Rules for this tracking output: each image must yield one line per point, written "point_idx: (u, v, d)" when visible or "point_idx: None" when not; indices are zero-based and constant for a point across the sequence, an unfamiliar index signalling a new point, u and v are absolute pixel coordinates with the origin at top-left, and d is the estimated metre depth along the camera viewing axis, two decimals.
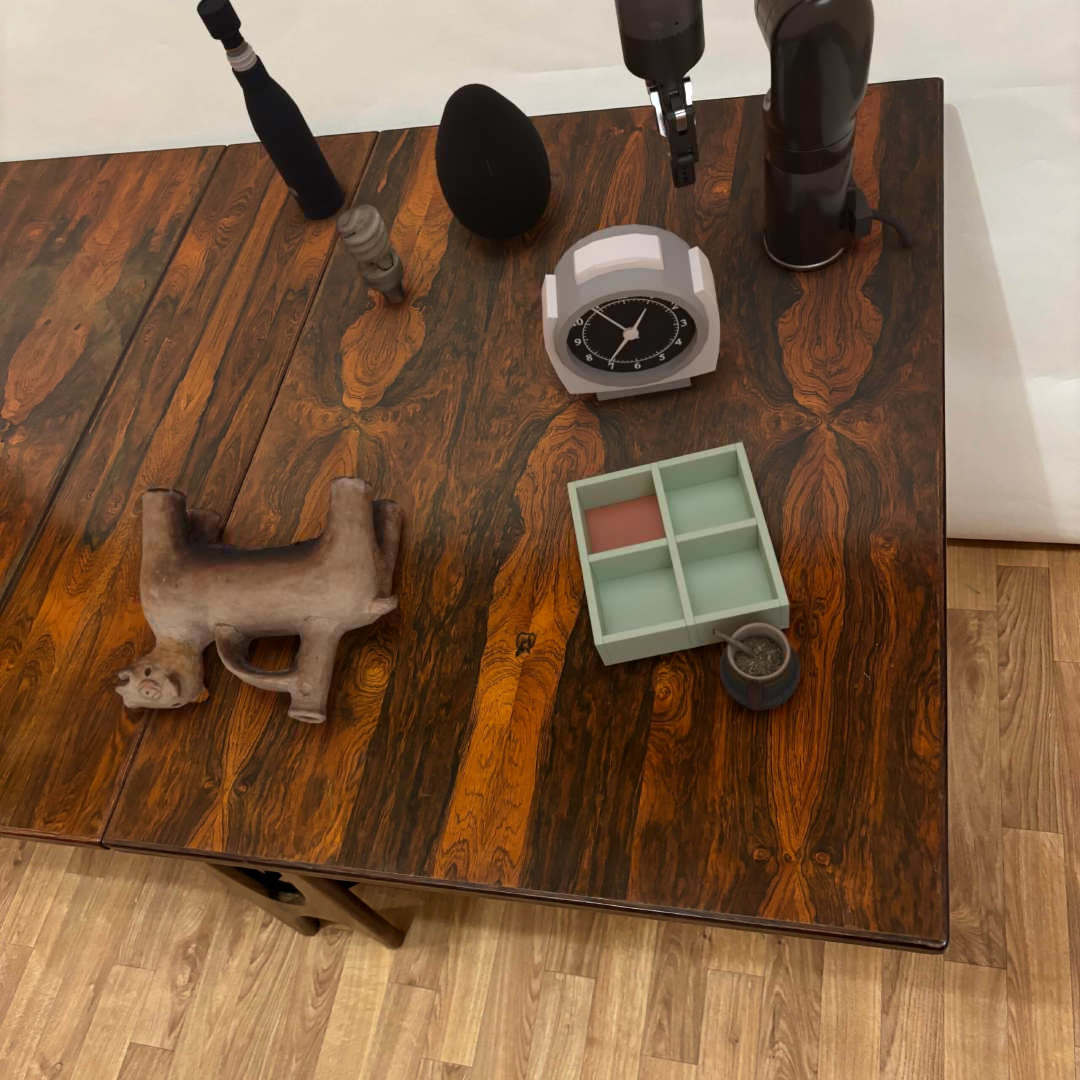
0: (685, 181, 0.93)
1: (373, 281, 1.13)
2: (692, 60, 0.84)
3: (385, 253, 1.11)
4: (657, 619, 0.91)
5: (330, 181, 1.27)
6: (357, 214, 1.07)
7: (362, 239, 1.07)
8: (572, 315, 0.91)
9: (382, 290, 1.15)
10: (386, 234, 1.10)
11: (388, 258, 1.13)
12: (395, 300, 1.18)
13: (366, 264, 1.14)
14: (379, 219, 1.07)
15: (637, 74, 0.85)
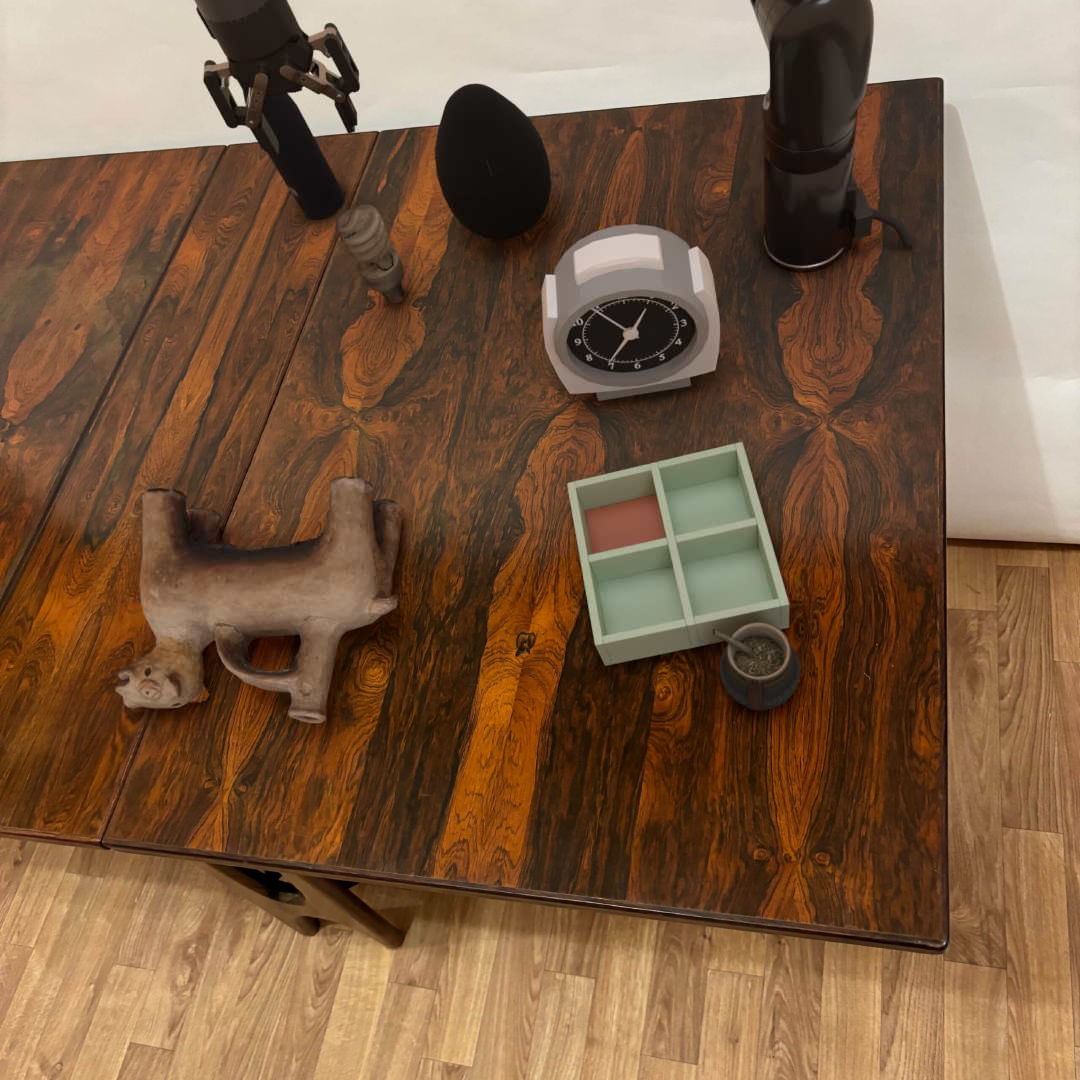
0: None
1: (373, 281, 1.13)
2: (224, 51, 0.86)
3: (385, 253, 1.11)
4: (657, 619, 0.91)
5: (330, 181, 1.27)
6: (357, 214, 1.07)
7: (362, 239, 1.07)
8: (572, 315, 0.91)
9: (382, 290, 1.15)
10: (386, 234, 1.10)
11: (388, 258, 1.13)
12: (395, 300, 1.18)
13: (366, 264, 1.14)
14: (379, 219, 1.07)
15: None
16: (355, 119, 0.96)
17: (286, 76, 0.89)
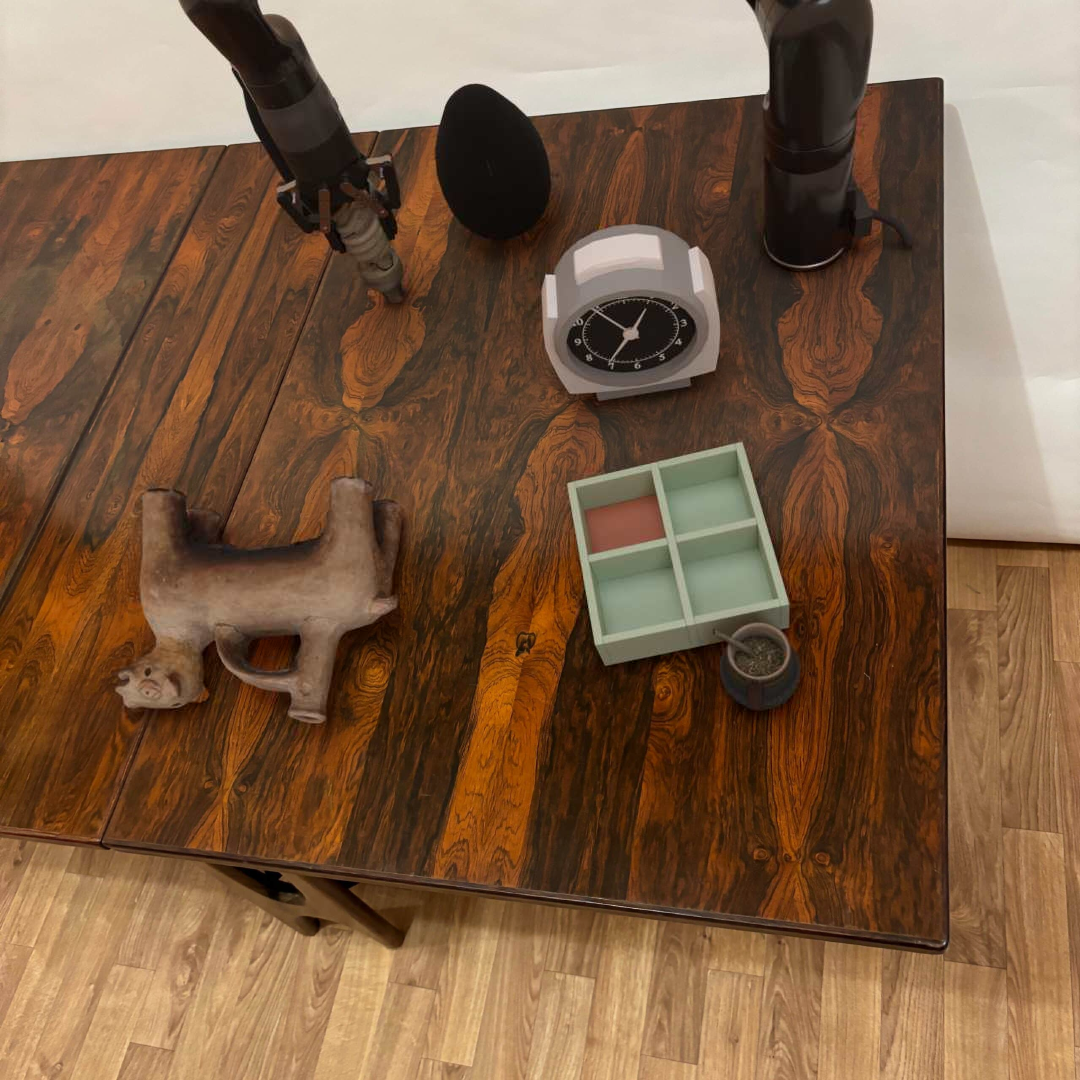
0: None
1: (373, 281, 1.13)
2: (293, 173, 0.99)
3: (385, 253, 1.11)
4: (657, 619, 0.91)
5: None
6: (356, 214, 1.07)
7: (362, 240, 1.07)
8: (572, 315, 0.91)
9: (382, 290, 1.15)
10: None
11: (388, 258, 1.13)
12: (395, 300, 1.18)
13: (366, 264, 1.14)
14: None
15: None
16: (395, 229, 1.09)
17: (344, 190, 1.02)
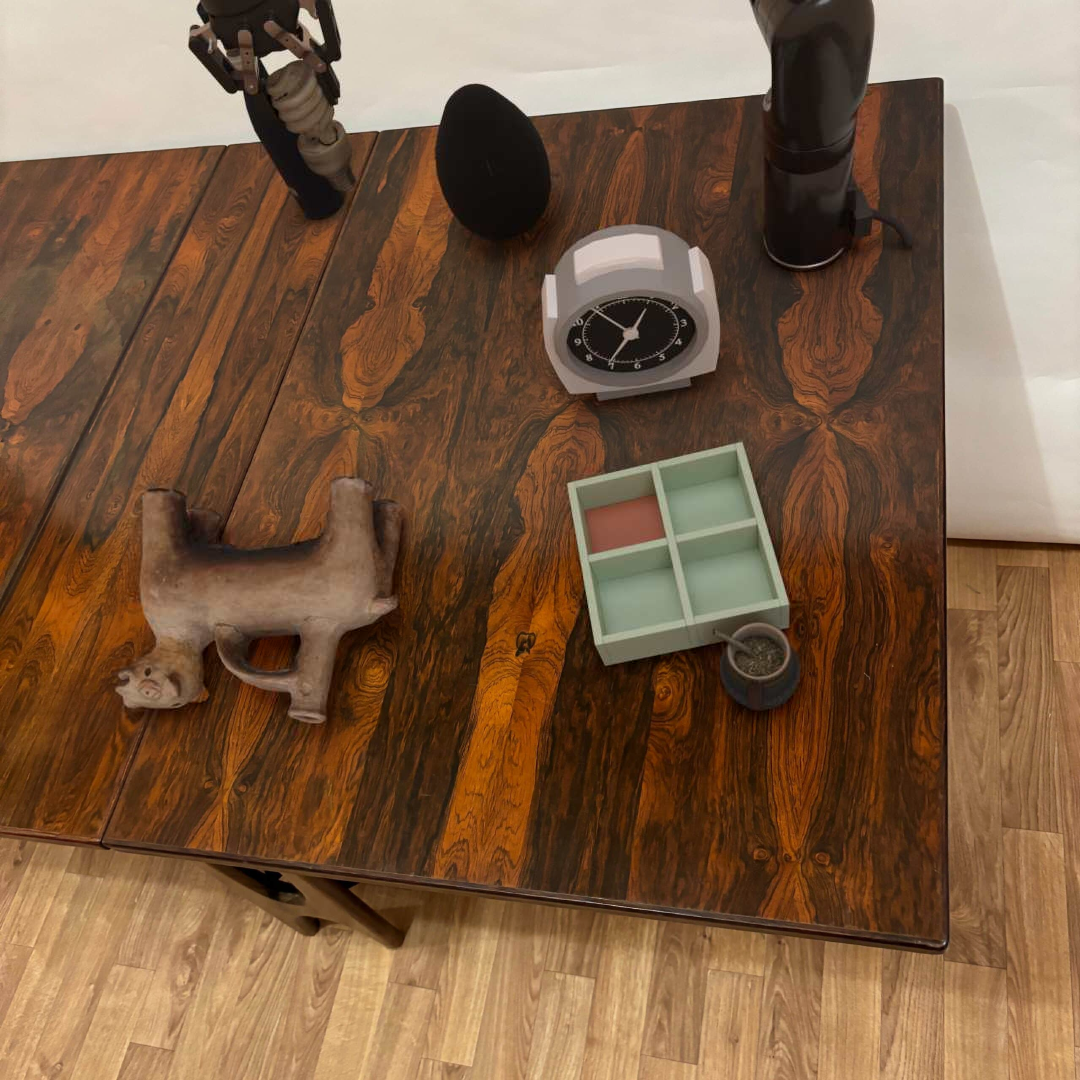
0: None
1: (314, 159, 0.95)
2: (204, 5, 0.81)
3: (326, 123, 0.93)
4: (657, 619, 0.91)
5: None
6: (289, 70, 0.89)
7: (296, 101, 0.89)
8: (572, 315, 0.91)
9: (326, 172, 0.97)
10: (326, 98, 0.91)
11: (331, 131, 0.94)
12: (344, 187, 1.00)
13: (306, 140, 0.96)
14: None
15: None
16: (338, 91, 0.91)
17: (269, 32, 0.83)
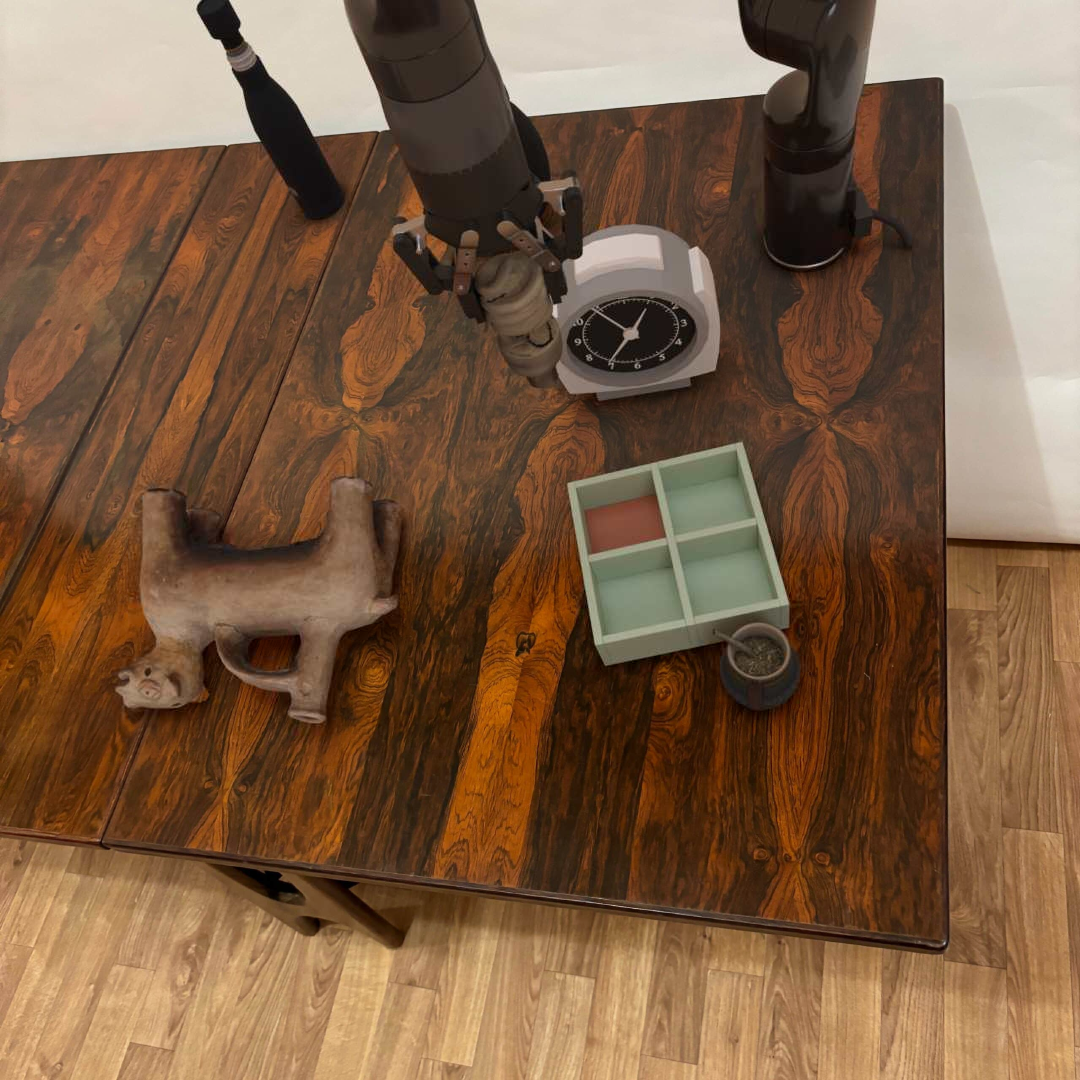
0: None
1: (521, 362, 0.76)
2: (427, 206, 0.61)
3: (544, 323, 0.73)
4: (657, 619, 0.91)
5: (330, 181, 1.27)
6: (510, 266, 0.69)
7: (517, 306, 0.69)
8: (572, 315, 0.91)
9: (532, 374, 0.77)
10: (548, 295, 0.72)
11: (545, 329, 0.75)
12: (545, 386, 0.80)
13: (510, 336, 0.76)
14: (543, 274, 0.69)
15: None
16: (565, 288, 0.71)
17: (502, 233, 0.64)
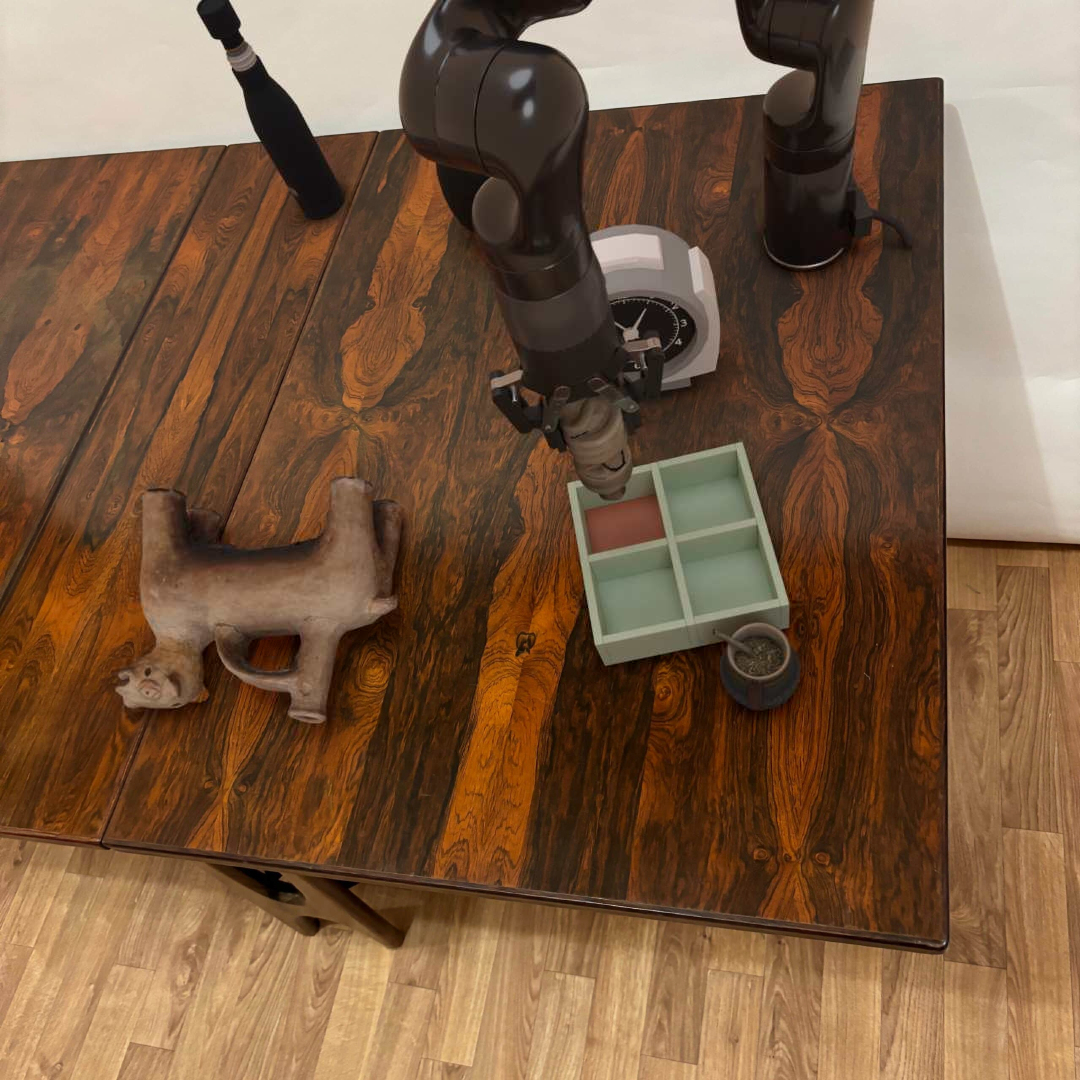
0: None
1: (597, 483, 0.83)
2: (528, 370, 0.68)
3: (619, 451, 0.80)
4: (657, 619, 0.91)
5: (330, 181, 1.27)
6: (592, 407, 0.76)
7: (599, 443, 0.76)
8: None
9: (605, 493, 0.84)
10: (624, 428, 0.79)
11: (618, 454, 0.82)
12: (614, 498, 0.88)
13: None
14: (622, 413, 0.77)
15: None
16: (640, 423, 0.78)
17: (592, 387, 0.71)
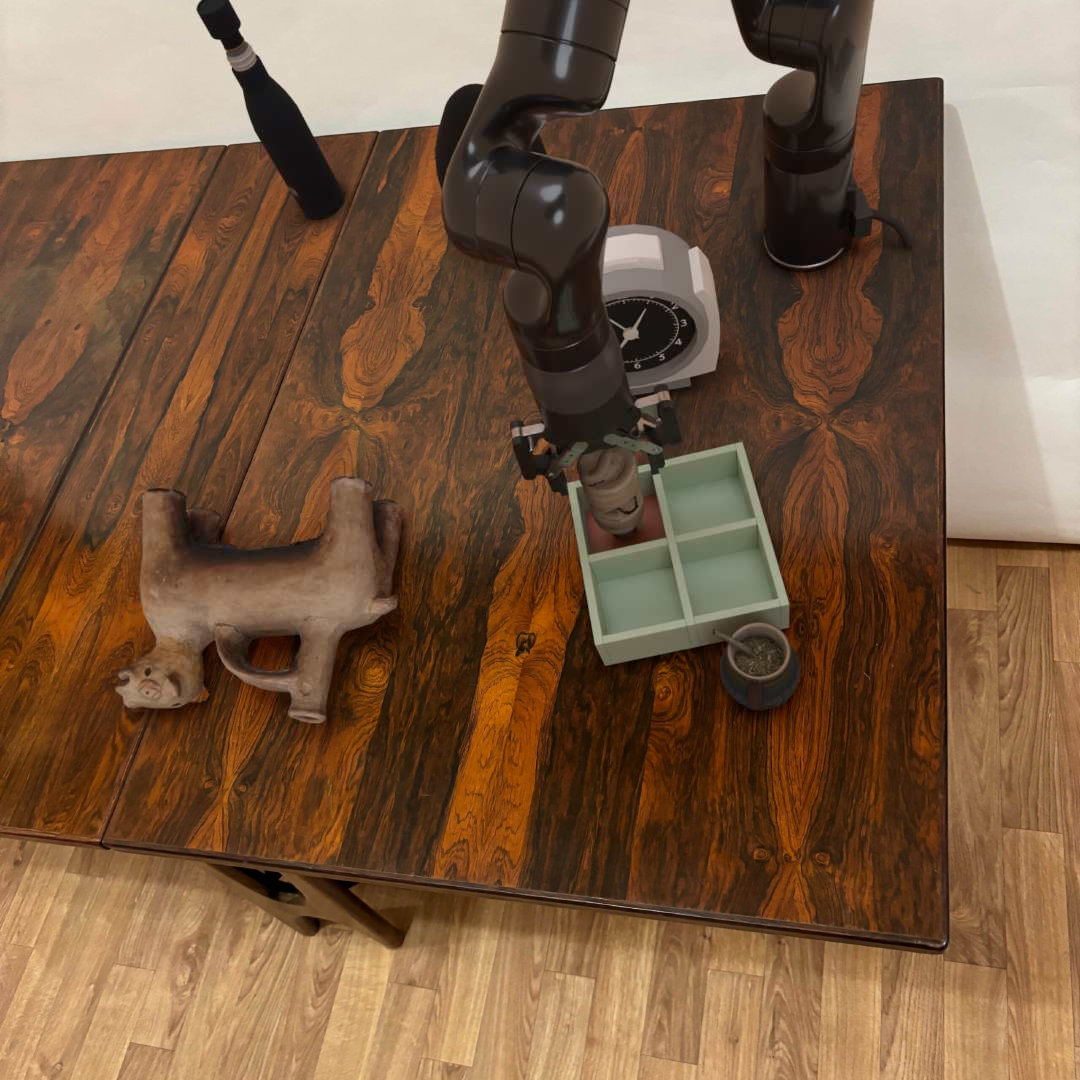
0: None
1: (611, 525, 0.90)
2: (550, 428, 0.75)
3: (632, 496, 0.87)
4: (657, 619, 0.91)
5: (330, 181, 1.27)
6: (609, 459, 0.83)
7: (615, 491, 0.83)
8: None
9: (618, 533, 0.91)
10: (637, 476, 0.86)
11: (631, 498, 0.89)
12: (626, 537, 0.94)
13: None
14: (636, 464, 0.84)
15: None
16: (663, 463, 0.84)
17: (609, 442, 0.78)
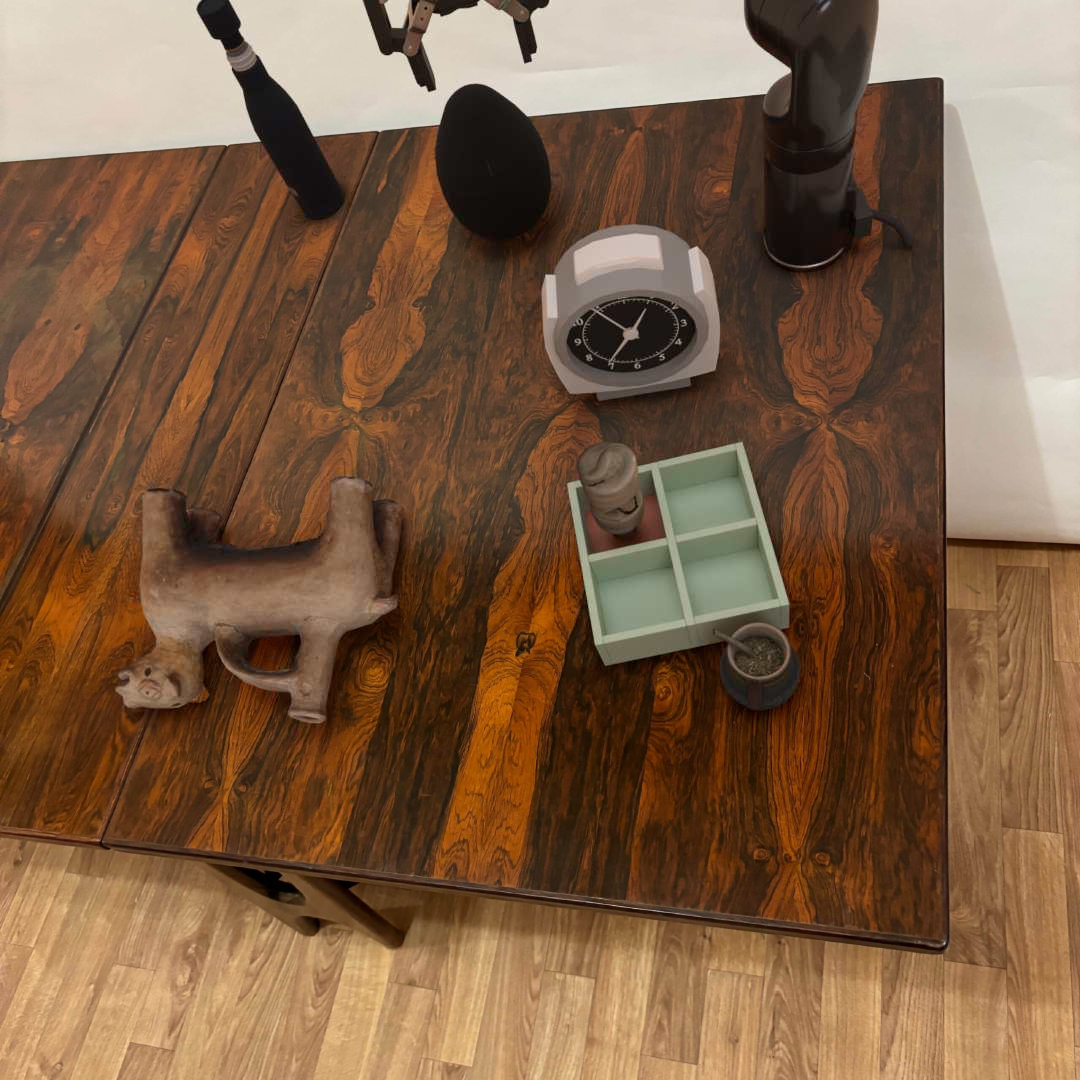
0: None
1: (611, 525, 0.90)
2: None
3: (632, 496, 0.87)
4: (657, 619, 0.91)
5: (330, 181, 1.27)
6: (609, 459, 0.83)
7: (615, 491, 0.83)
8: (572, 315, 0.91)
9: (618, 533, 0.91)
10: (637, 476, 0.86)
11: (631, 498, 0.89)
12: (626, 537, 0.94)
13: None
14: (636, 464, 0.84)
15: None
16: (535, 45, 0.78)
17: None
